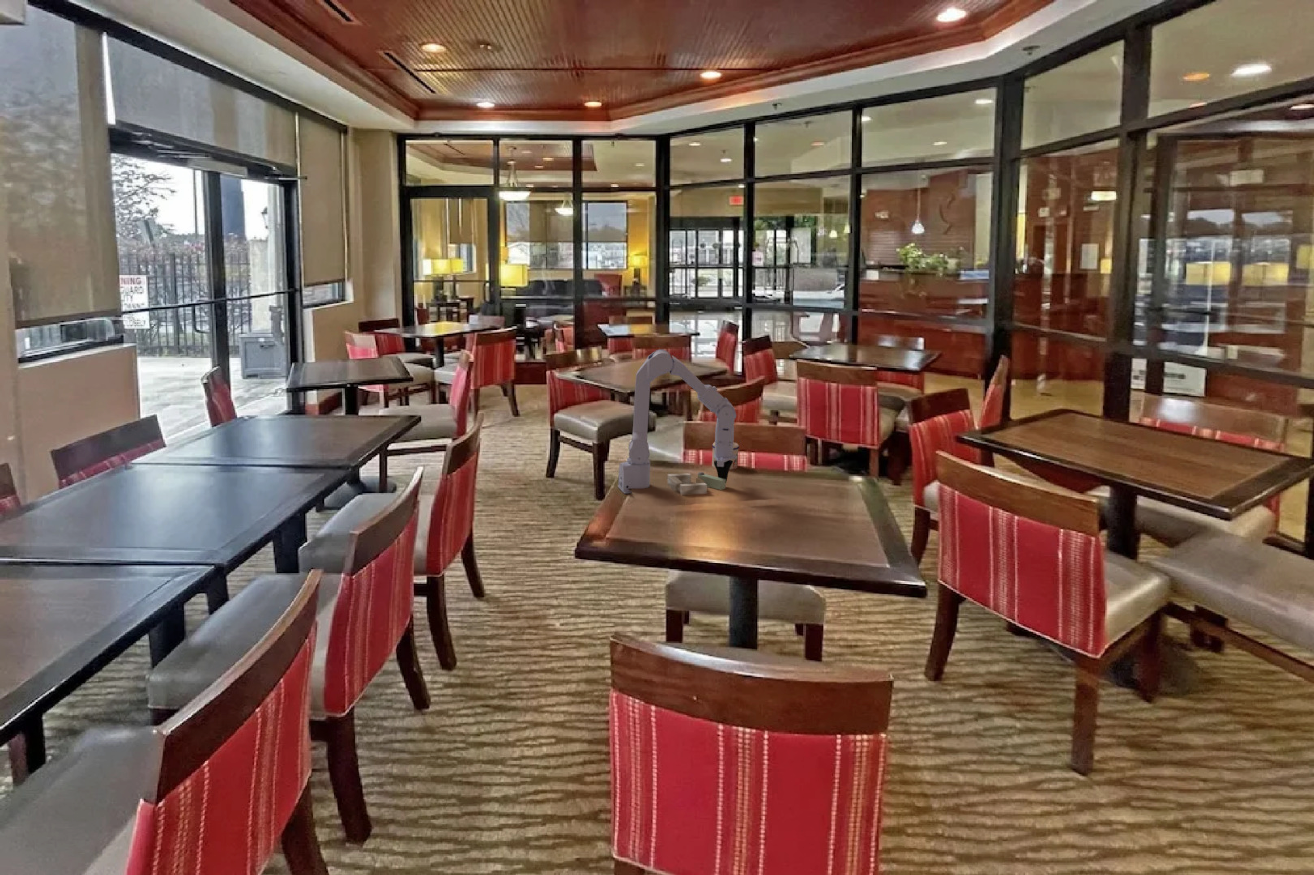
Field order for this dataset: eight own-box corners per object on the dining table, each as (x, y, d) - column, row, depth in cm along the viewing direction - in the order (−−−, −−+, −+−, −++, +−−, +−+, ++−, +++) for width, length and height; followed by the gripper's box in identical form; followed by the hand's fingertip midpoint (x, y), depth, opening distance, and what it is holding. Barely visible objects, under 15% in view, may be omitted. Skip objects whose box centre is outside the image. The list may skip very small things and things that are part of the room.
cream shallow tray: (678, 499, 271) (679, 486, 270) (664, 487, 284) (664, 474, 283) (722, 497, 275) (722, 483, 274) (706, 484, 288) (706, 472, 287)
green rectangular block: (720, 490, 277) (721, 479, 276) (695, 483, 284) (696, 473, 283) (725, 488, 279) (725, 478, 278) (700, 482, 285) (701, 471, 284)
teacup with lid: (738, 474, 302) (740, 440, 299) (711, 473, 302) (713, 439, 299) (736, 465, 313) (738, 432, 311) (710, 464, 313) (711, 431, 311)
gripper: (734, 447, 270) (732, 490, 273) (739, 436, 284) (737, 478, 287) (711, 445, 271) (709, 488, 274) (717, 435, 285) (716, 476, 288)
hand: (722, 483), depth 281 cm, fingers closed, pressing on green rectangular block
